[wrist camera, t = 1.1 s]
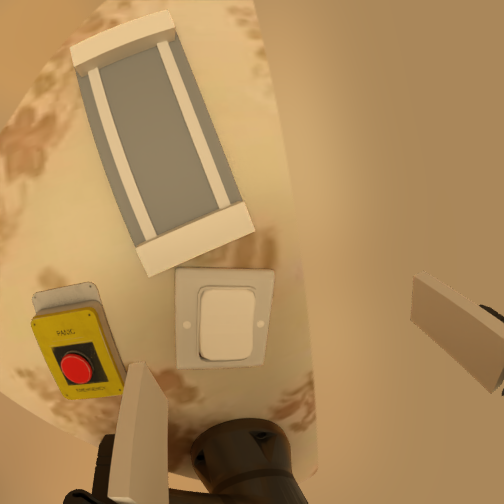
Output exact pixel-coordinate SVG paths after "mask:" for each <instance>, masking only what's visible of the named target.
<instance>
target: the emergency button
mask: <svg viewBox="0 0 504 504" xmlns="http://www.w3.org/2000/svg"><path fill="white" fill-rule="evenodd" d="M32 302H33V305H34V308H35V311H36V315H35V317H33V319H32V321H31V327H32V330H33V333H34V335H35V338H36V340H37V342H38V345H39V347H40V350H41V352H42V354H43V356H44V359H45V361H46V363H47V365H48V367H49V369H50V371H51V374H52V376H53V378H54V380H55V382H56V383H57V385H58V387H59V389H60V391H61V393H62V395H63V396H64V397H65V398H66V399H69V400H76V399H89V398H100V397H110V396H119V395H122V394H123V391H124V386H125V381H126V376H127V372H126V370H125V367H124V365H123V362H122V360H121V357H120V355H119V352H118V349H117V347H116V344H115V341H114V338H113V336H112V333H111V330H110V327H109V324H108V321H107V318H106V315H105V312H104V309H103V305H102V302H101V299H100V295H99V292H98V289H97V287H96V285H95V284H93V283H92V282H84V283H80V284H75V285H70V286H65V287H60V288H55V289H50V290H46V291H41V292H36V293H35V294H33V297H32Z"/></svg>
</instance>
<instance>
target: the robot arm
mask: <svg viewBox="0 0 504 504" xmlns="http://www.w3.org/2000/svg"><path fill="white" fill-rule="evenodd" d="M410 320H411V321H412V322H413V323H414V324H415V325H417V326H418V327H419V328H420V329H421V330H422V331H423V332H425V333H426V334H427V335H428V336H429V337H430V338H431V339H432V340H434V341H435V342H436V343H437V344H438V345H439V346H440V347H442V348H443V349H444V350H445V351H446V352H447V353H448V354H449V355H450V356H451V357H452V358H454V359H455V360H456V361H457V362H458V363H459V364H460V365H461V366H462V367H463V368H465V370H467V371H468V372H469V373H470V374H471V375H472V376H473V377H474V378H475V379H476V380H477V381H478V382H479V383H480V384H481V385H482V386H483V387H484V388H486V390H487V391H488V392H489V393H491V394H492V393H493V392H494V391H495V390H496V389H497V388H498V387H499V386H500V385H501V384H502V382H503V380H504V317H503V316H502V315H500V314H498V312H496V311H494V310H493V309H492V308H490V307H486V306H484V305H479V306H478V305H477V304H475V303H474V302H472V301H471V300H469V299H468V298H466V297H465V296H463V295H461V294H460V293H459V292H457V291H455V290H454V289H452V288H451V287H449V286H447V285H446V284H444V283H443V282H441V281H439V280H438V279H436V278H435V277H433V276H431V275H430V274H428V273H426V272H425V271H423V272H421V273H418V274H416V275H414V276H413V292H412V307H411V319H410ZM503 395H504V389H503V391H502V396H503ZM191 459H192V465H193V468H194V470H195V472H196V474H197V475H198V477H199V478H200V480H201V481H202V482H203V484H204V486H205V487H206V489H207V490H208V491H209V493H201V492H200V493H199V492H192V491H183V490H177V489H171V488H168V399H167V398H166V396H165V395H164V393H163V391H162V390H161V388H160V387H159V385H158V383H157V382H156V380H155V378H154V377H153V375H152V373H151V371H150V370H149V368H148V366H147V365H146V363H145V361H141V362H136V363H131V364H129V368H128V372H127V376H126V381H125V386H124V391H123V395H122V400H121V406H120V411H119V416H118V422H117V428H116V434H109V435H105V436H104V438H103V440H102V441H101V443H100V445H99V450H98V458H97V461H96V465H97V466H96V467H95V474H94V481H93V488H92V494H90V493H89V492H87V491H85V490H82V489H76V490H73V491H71V492H69V493H68V494H67V495H66V497H65V499H64V501H63V504H308V502H307V500H306V498H305V497H304V495H303V493H302V491H301V489H300V488H299V486H298V484H297V482H296V481H295V479H294V477H293V475H292V467H291V450H290V444H289V441H288V439H287V437H286V435H285V433H284V432H283V430H282V429H281V428H280V427H279V426H278V425H276V424H274V423H272V422H269V421H266V420H261V419H239V420H233V421H229V422H225V423H222V424H219V425H217V426H215V427H213V428H211V429H209V430H207V431H206V432H204V433H203V434H202V435H200V436H199V437H198V438H197V439H196V441H195V442H194V444H193V446H192V449H191Z"/></svg>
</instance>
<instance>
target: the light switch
mask: <svg viewBox="0 0 504 504" xmlns="http://www.w3.org/2000/svg"><path fill="white" fill-rule="evenodd" d="M274 282H275V273H274V271H273V270H272V269H240V268H201V267H176V269H175V348H176V368H177V369H224V368H243V367H258V366H262V365H263V364H264V358H265V351H266V344H267V336H268V329H269V321H270V314H271V306H272V298H273V290H274ZM199 352H200V354H201V356H202V357H204V358H202V357H200V355H199ZM205 358H206V359H205Z"/></svg>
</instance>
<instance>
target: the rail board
mask: <svg viewBox="0 0 504 504" xmlns="http://www.w3.org/2000/svg"><path fill="white" fill-rule="evenodd" d="M175 28H176V27H175V25H174V22H173V20H172V17H171V15H170V12H169V10H168V9H166V10H163V11H159V12H156V13H152V14H149V15H146V16H143V17H140V18H137V19H134V20H131V21H129V22H126V23H123V24H121V25H118V26H115V27H113V28H110V29H108V30H106V31H103V32H101V33H99V34H96V35H94V36H92V37H90V38H88V39H85V40H83V41H81V42H79V43H77V44H75V45H73V46H71V47H70V51H71V56H72V60H73V65H74V68H75V70H76V74H77V79H78V83H79V87H80V91H81V95H82V99H83V102H84V106H85V110H86V113H87V117H88V120H89V123H90V127H91V130H92V133H93V137H94V140H95V143H96V146H97V149H98V152H99V155H100V158H101V161H102V164H103V167H104V170H105V172H106V175H107V178H108V181H109V183H110V186H111V189H112V191H113V194H114V197H115V199H116V202H117V204H118V207H119V209H120V212H121V214H122V217H123V219H124V222H125V224H126V226H127V229H128V231H129V233H130V236H131V238H132V240H133V243H134V245H135V247H136V248H135V250H136V252H137V254H138V256H139V258H140V261H141V263H142V265H143V267H144V269H145V271H146V273H147V276H148V278H149V277H152V276H154V275H156V274H158V273H161V272H163V271H165V270H167V269H170V268H172V267H174V266H176V265H179V264H181V263H183V262H185V261H188V260H190V259H192V258H194V257H197V256H199V255H201V254H204V253H206V252H208V251H210V250H213V249H215V248H217V247H220V246H222V245H224V244H227V243H229V242H231V241H234V240H236V239H238V238H241V237H243V236H245V235H247V234H250V233H252V232H254V231H255V228H254V226H253V223H252V220H251V218H250V215H249V212H248V210H247V207H246V205H245V202H244V201H243V200H242V198H241V195H240V193H239V190H238V187H237V185H236V182H235V180H234V177H233V175H232V172H231V169H230V167H229V164H228V162H227V159H226V156H225V154H224V151H223V149H222V146H221V144H220V141H219V138H218V136H217V133H216V131H215V128H214V126H213V123H212V121H211V118H210V116H209V113H208V110H207V108H206V105H205V103H204V100H203V98H202V95H201V93H200V90H199V88H198V85H197V83H196V80H195V78H194V75H193V73H192V70H191V68H190V65H189V63H188V60H187V58H186V55H185V53H184V50H183V48H182V45H181V43H180V40H179V38H178V35H177V33H176V30H175Z"/></svg>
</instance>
